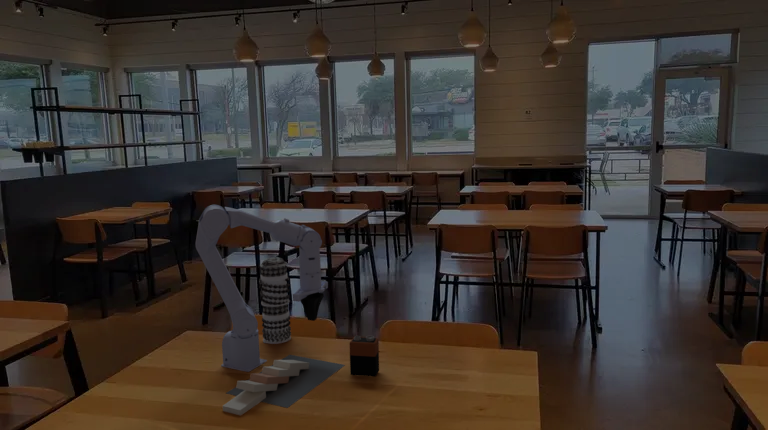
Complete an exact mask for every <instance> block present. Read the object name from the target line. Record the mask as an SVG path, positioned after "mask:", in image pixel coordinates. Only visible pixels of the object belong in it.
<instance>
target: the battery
mask: <svg viewBox="0 0 768 430" xmlns="http://www.w3.org/2000/svg"><path fill="white" fill-rule="evenodd" d="M379 345H380V344H379V338H378V337H375V336H374V335H366V336H365V337H363V336H361V335H355V336H353V338H352V339H351V340H350V342H349V369H350V370H349V371H350V372H349V373H350V376H356V377H358V376H360V377H373V378H374V377H377V376H378V373H379V371H380V358H379V357H380V355H379V353H380V352H379V351H380V350H379V349H380V346H379Z"/></svg>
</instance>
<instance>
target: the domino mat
mask: <svg viewBox="0 0 768 430" xmlns="http://www.w3.org/2000/svg"><path fill="white" fill-rule="evenodd" d="M280 360H297V361H302V362H308V363H309V369H300V372H299V376H289V381H288V383H280V384H278V386H277V390H275V391H266V398H265V399H263V400H262V401H261V402H260V403H264V404H265V403H266V404H269V405H273V406H278V407H282V408H286V409H288V408H290V407H291V406H293V405H294V404H295V403H296V402H298V401H299V400H301V399H302V398H303V397H305V395H307V394H308V393H310V392H311V391H312V390H314V389H315V388H317V387H318V386H320V384H322V383H323V382H324V381H326V380H327V379H328V378H330V377H331V376H332V375H334V374H336V372H338V371H340V369H342V368H344V367H345V366H346V364H342V363H336V362H331V361H327V360H326V361H325V360H321V359H314V358H310V357H305V356H299V355H294V354H288V355H287V356H284V357H283V358H282V359H280ZM270 366H273V364H272V365H270ZM259 373H262V370H261V371H260V372H259ZM248 380H250V378H249V379H247V380H246V381H248ZM243 391H244V390H243V389H238V388H236V386H235V387H234V388H231V389H230V390H229V391H227V392H225V394H227V395H232V396H234V397H236V396H237V395H239V394H240V393H241V392H243Z"/></svg>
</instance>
